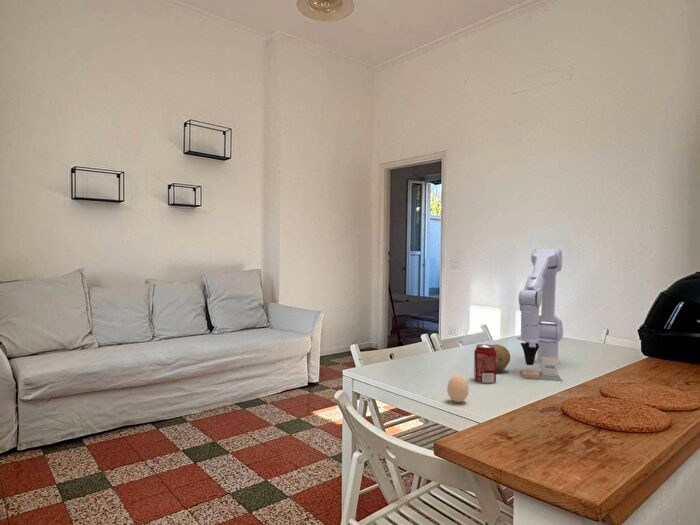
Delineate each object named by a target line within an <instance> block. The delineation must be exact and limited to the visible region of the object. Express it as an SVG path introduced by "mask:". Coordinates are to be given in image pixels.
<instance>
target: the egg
mask: <svg viewBox="0 0 700 525" xmlns="http://www.w3.org/2000/svg"><path fill="white" fill-rule="evenodd" d="M446 389H447V395H448V396H449V399H451V401H453V402H455V403H462V402H464V401H466V399H467V398H468V396H469V385H468V382H467V380H466V379H465V378H464V377H463V376H462V375H460V374H455V375H453V376H452V377H451V378H450V379H449V381H448V383H447V388H446Z"/></svg>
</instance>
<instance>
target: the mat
mask: <svg viewBox="0 0 700 525" xmlns="http://www.w3.org/2000/svg"><path fill="white" fill-rule="evenodd" d="M522 370H523V369H521V370H519V372H520V374H521V375H522ZM537 371H538V370H537ZM538 373H539V374H540V379H531V380H532V381H533V380H535V381H549V382H550V381H552V382H564V381H563V379H562V378H561V377H560V375H559V374H558V376H548V375H541V370H540V371H538ZM523 379H524V380H529V379H528V378H523Z"/></svg>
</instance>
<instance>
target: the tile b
mask: <svg viewBox="0 0 700 525" xmlns="http://www.w3.org/2000/svg"><path fill="white" fill-rule="evenodd" d="M558 363H559V357H558V358H556V357H541V365H540V372H541V375H548V376H558V375H559V372H558V370H559V369H558V368H559V366H558Z"/></svg>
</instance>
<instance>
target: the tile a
mask: <svg viewBox="0 0 700 525" xmlns="http://www.w3.org/2000/svg"><path fill="white" fill-rule="evenodd" d="M521 370H522V374H521V376H522V378H523V379H524V378H528V379H527V380H532V379H540V374H539V373H538V370H535V369H533V370H532V369H521Z"/></svg>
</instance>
